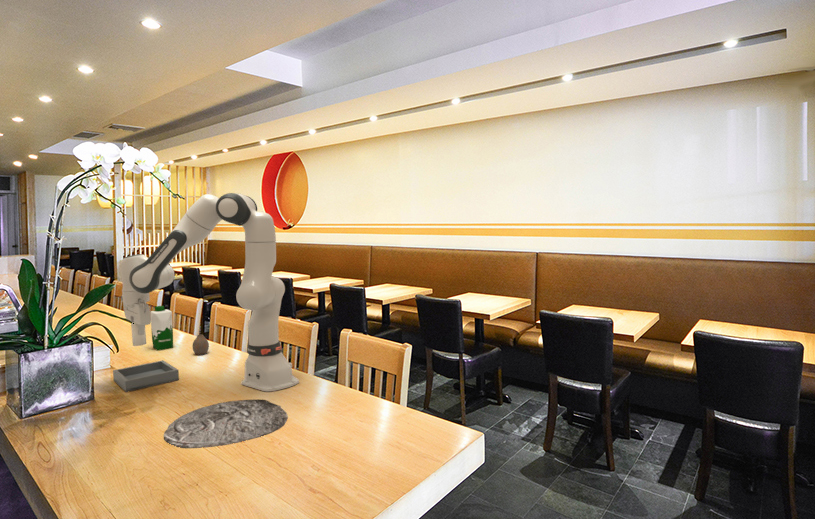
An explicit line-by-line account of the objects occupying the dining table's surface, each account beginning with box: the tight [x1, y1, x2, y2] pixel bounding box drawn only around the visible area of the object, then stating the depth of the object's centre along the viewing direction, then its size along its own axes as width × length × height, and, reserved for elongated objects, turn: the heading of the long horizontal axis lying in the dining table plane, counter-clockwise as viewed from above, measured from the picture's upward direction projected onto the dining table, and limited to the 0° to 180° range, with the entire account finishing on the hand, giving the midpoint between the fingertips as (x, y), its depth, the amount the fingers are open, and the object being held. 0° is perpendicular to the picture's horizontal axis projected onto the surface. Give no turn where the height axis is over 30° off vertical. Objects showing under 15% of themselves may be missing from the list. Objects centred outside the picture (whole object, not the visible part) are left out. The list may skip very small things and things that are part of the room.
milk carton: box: [150, 305, 174, 351], centre depth 229 cm, size 9×9×20 cm
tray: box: [112, 360, 180, 393], centre depth 182 cm, size 18×18×4 cm
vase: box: [192, 334, 210, 356], centre depth 218 cm, size 7×7×9 cm
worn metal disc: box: [163, 399, 288, 449], centre depth 144 cm, size 33×35×1 cm
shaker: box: [130, 316, 147, 347], centre depth 180 cm, size 5×5×11 cm
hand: (138, 333), depth 180 cm, fingers closed on shaker, 4 cm apart
